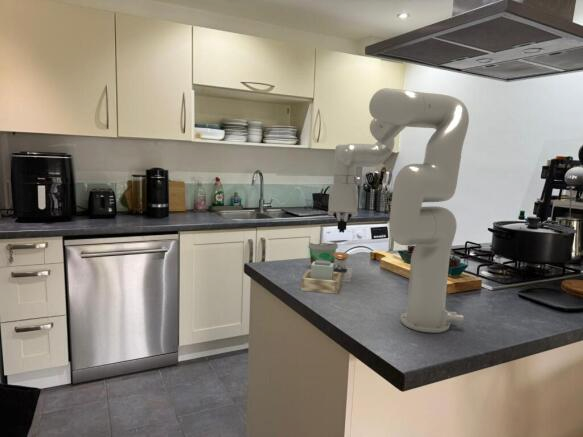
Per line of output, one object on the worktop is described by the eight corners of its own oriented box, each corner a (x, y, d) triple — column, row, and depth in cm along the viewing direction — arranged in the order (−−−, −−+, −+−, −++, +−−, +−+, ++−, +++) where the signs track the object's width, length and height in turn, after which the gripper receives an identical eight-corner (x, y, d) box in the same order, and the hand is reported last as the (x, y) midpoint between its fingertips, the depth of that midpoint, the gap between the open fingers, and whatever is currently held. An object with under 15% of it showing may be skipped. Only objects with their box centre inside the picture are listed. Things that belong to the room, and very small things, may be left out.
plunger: (348, 270, 152) (349, 252, 151) (347, 274, 147) (348, 256, 146) (333, 268, 153) (333, 251, 152) (331, 273, 148) (332, 255, 147)
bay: (340, 283, 144) (341, 272, 143) (337, 293, 133) (338, 281, 133) (306, 280, 146) (307, 269, 146) (301, 290, 136) (301, 278, 135)
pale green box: (312, 281, 142) (313, 259, 141) (333, 283, 141) (334, 260, 140) (310, 285, 138) (311, 262, 136) (331, 287, 136) (332, 264, 135)
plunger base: (351, 276, 153) (352, 268, 153) (350, 282, 146) (350, 274, 145) (330, 274, 155) (330, 266, 155) (327, 280, 147) (327, 272, 147)
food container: (313, 271, 158) (314, 245, 157) (307, 267, 164) (308, 242, 162) (342, 269, 163) (343, 244, 161) (335, 265, 168) (336, 241, 167)
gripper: (366, 180, 147) (363, 231, 150) (324, 178, 150) (322, 228, 153) (365, 182, 140) (362, 235, 143) (321, 180, 143) (319, 232, 146)
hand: (341, 231), depth 148 cm, fingers closed
